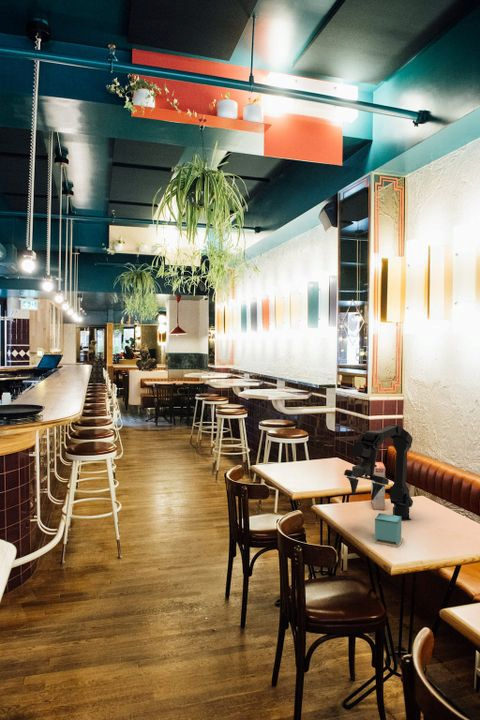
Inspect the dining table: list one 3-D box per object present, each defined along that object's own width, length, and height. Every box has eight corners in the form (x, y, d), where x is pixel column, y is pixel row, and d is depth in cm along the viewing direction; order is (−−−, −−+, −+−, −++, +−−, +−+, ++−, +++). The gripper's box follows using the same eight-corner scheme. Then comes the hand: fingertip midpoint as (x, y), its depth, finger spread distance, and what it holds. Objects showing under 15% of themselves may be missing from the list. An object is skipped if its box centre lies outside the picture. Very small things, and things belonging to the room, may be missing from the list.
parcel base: (378, 534, 207) (378, 532, 207) (403, 538, 202) (403, 536, 202) (373, 542, 198) (373, 540, 198) (399, 547, 193) (399, 544, 193)
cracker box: (385, 510, 239) (385, 468, 239) (372, 509, 240) (373, 467, 240) (382, 502, 253) (383, 461, 253) (370, 501, 254) (371, 461, 254)
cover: (378, 534, 205) (379, 513, 205) (401, 537, 201) (401, 516, 201) (374, 540, 198) (375, 518, 198) (397, 544, 194) (398, 522, 193)
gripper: (340, 454, 211) (333, 490, 208) (378, 461, 197) (371, 500, 194) (354, 458, 218) (348, 493, 215) (392, 465, 205) (385, 503, 202)
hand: (362, 497), depth 206 cm, fingers open, 9 cm apart
